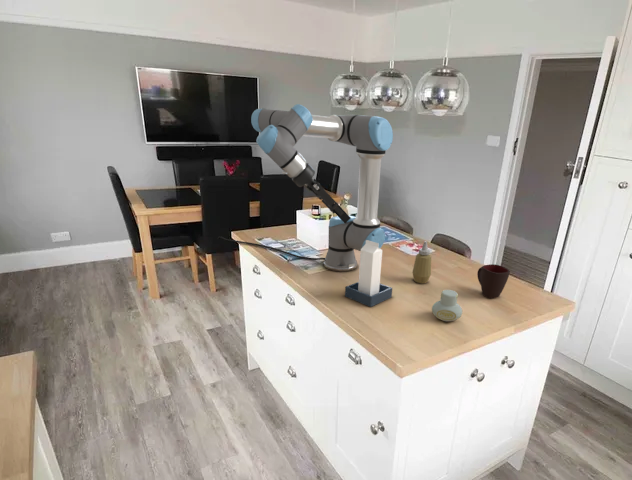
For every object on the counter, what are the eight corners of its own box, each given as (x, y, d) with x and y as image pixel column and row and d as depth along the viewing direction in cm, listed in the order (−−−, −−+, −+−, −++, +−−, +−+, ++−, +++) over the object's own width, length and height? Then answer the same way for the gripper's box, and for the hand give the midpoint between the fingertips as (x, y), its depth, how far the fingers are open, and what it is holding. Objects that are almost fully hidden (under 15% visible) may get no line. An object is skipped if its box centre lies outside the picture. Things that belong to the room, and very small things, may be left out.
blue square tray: (344, 296, 163) (345, 286, 161) (366, 287, 172) (367, 278, 171) (370, 307, 156) (371, 297, 154) (391, 297, 165) (392, 287, 164)
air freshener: (429, 320, 149) (433, 294, 145) (432, 310, 157) (435, 286, 153) (460, 325, 147) (465, 299, 143) (461, 315, 155) (465, 290, 151)
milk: (366, 291, 168) (370, 238, 159) (379, 295, 164) (383, 241, 155) (357, 295, 163) (360, 241, 154) (369, 300, 160) (373, 244, 151)
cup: (489, 302, 168) (495, 274, 163) (467, 288, 179) (472, 262, 174) (507, 298, 172) (513, 271, 167) (485, 286, 183) (490, 260, 178)
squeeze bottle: (429, 285, 179) (434, 245, 171) (410, 283, 180) (415, 243, 173) (430, 279, 186) (435, 240, 179) (412, 276, 187) (417, 238, 180)
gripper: (283, 172, 145) (324, 214, 156) (298, 185, 124) (344, 233, 135) (299, 157, 144) (339, 200, 156) (316, 167, 124) (361, 216, 135)
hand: (341, 215), depth 146 cm, fingers open, 13 cm apart
